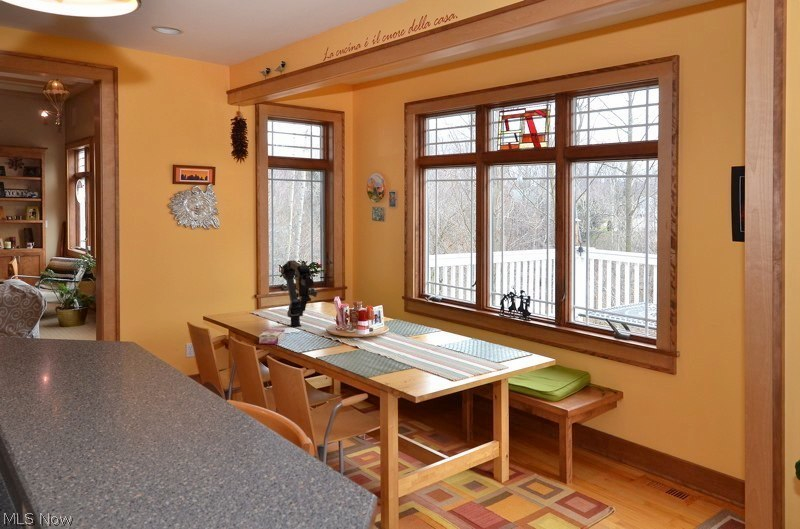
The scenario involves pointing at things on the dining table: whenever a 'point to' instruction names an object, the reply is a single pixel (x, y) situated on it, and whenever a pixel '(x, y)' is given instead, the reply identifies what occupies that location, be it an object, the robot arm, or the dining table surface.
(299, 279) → the robot arm
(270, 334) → the candy bar box
